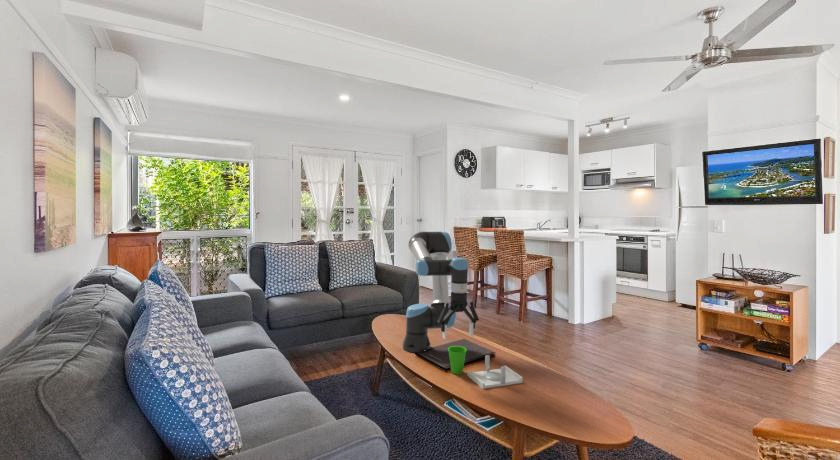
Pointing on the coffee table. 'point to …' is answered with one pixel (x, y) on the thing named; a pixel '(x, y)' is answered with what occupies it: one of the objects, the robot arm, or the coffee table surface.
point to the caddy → (495, 376)
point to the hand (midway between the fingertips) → (457, 337)
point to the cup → (457, 358)
